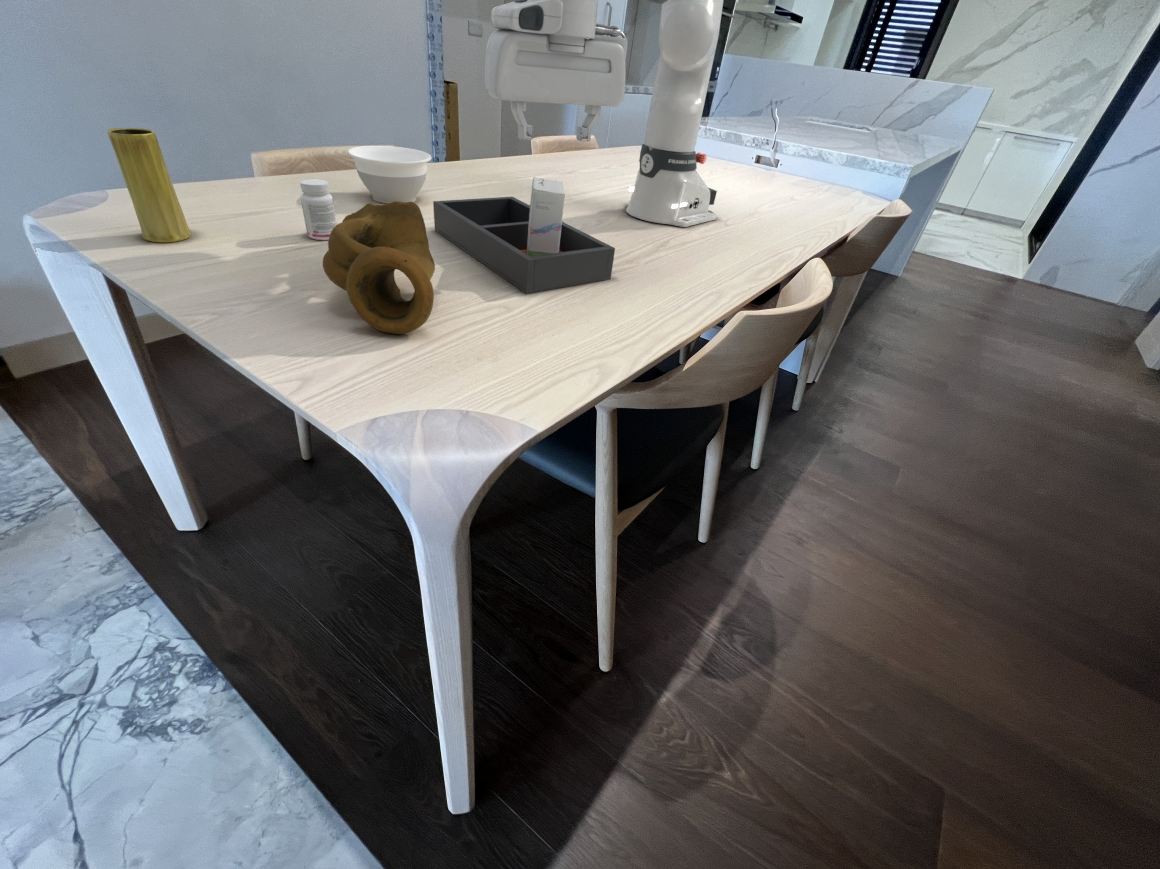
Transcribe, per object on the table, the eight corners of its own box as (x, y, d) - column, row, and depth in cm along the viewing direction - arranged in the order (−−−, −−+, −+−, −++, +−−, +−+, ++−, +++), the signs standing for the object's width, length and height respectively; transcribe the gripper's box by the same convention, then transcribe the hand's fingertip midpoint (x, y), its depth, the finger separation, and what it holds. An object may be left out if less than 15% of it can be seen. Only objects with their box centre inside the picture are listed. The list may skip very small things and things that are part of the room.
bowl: (423, 212, 106) (420, 165, 101) (342, 203, 105) (334, 155, 100) (441, 194, 118) (439, 151, 113) (368, 185, 118) (363, 142, 112)
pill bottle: (345, 236, 90) (336, 182, 85) (323, 242, 86) (313, 187, 81) (323, 229, 91) (314, 176, 86) (301, 236, 88) (290, 181, 83)
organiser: (511, 223, 106) (512, 196, 103) (610, 279, 87) (615, 248, 84) (434, 230, 98) (432, 201, 95) (526, 294, 79) (527, 259, 75)
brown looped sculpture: (480, 225, 78) (449, 247, 59) (452, 306, 84) (416, 350, 64) (355, 168, 74) (278, 171, 55) (334, 256, 80) (258, 287, 60)
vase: (197, 239, 82) (164, 134, 73) (150, 245, 78) (109, 135, 69) (183, 228, 85) (150, 126, 76) (137, 233, 81) (97, 127, 73)
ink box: (526, 250, 92) (530, 176, 85) (556, 252, 92) (562, 179, 85) (527, 267, 85) (531, 188, 78) (559, 270, 86) (565, 192, 79)
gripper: (616, 27, 75) (604, 137, 83) (478, 8, 66) (480, 134, 74) (641, 29, 71) (626, 145, 79) (498, 9, 62) (498, 143, 70)
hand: (554, 140), depth 76 cm, fingers open, 8 cm apart
